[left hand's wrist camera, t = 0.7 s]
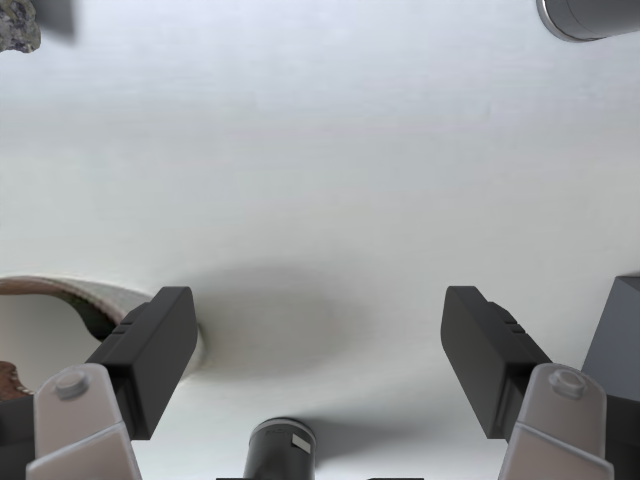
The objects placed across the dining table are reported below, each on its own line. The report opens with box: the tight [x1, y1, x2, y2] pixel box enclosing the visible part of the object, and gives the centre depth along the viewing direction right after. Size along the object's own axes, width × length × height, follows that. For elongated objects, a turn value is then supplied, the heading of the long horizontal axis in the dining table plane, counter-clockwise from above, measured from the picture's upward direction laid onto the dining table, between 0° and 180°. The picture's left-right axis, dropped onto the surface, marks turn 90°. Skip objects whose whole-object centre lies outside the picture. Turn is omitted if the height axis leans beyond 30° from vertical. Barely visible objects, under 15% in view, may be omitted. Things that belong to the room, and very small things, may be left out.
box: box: [581, 277, 640, 401], centre depth 43 cm, size 25×6×9 cm, turn 179°
